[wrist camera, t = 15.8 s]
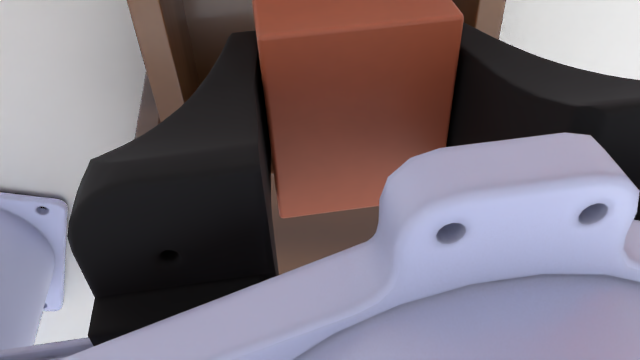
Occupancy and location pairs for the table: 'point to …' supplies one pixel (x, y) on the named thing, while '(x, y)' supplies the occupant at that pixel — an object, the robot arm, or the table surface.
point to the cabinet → (296, 232)
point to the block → (353, 94)
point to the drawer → (223, 39)
